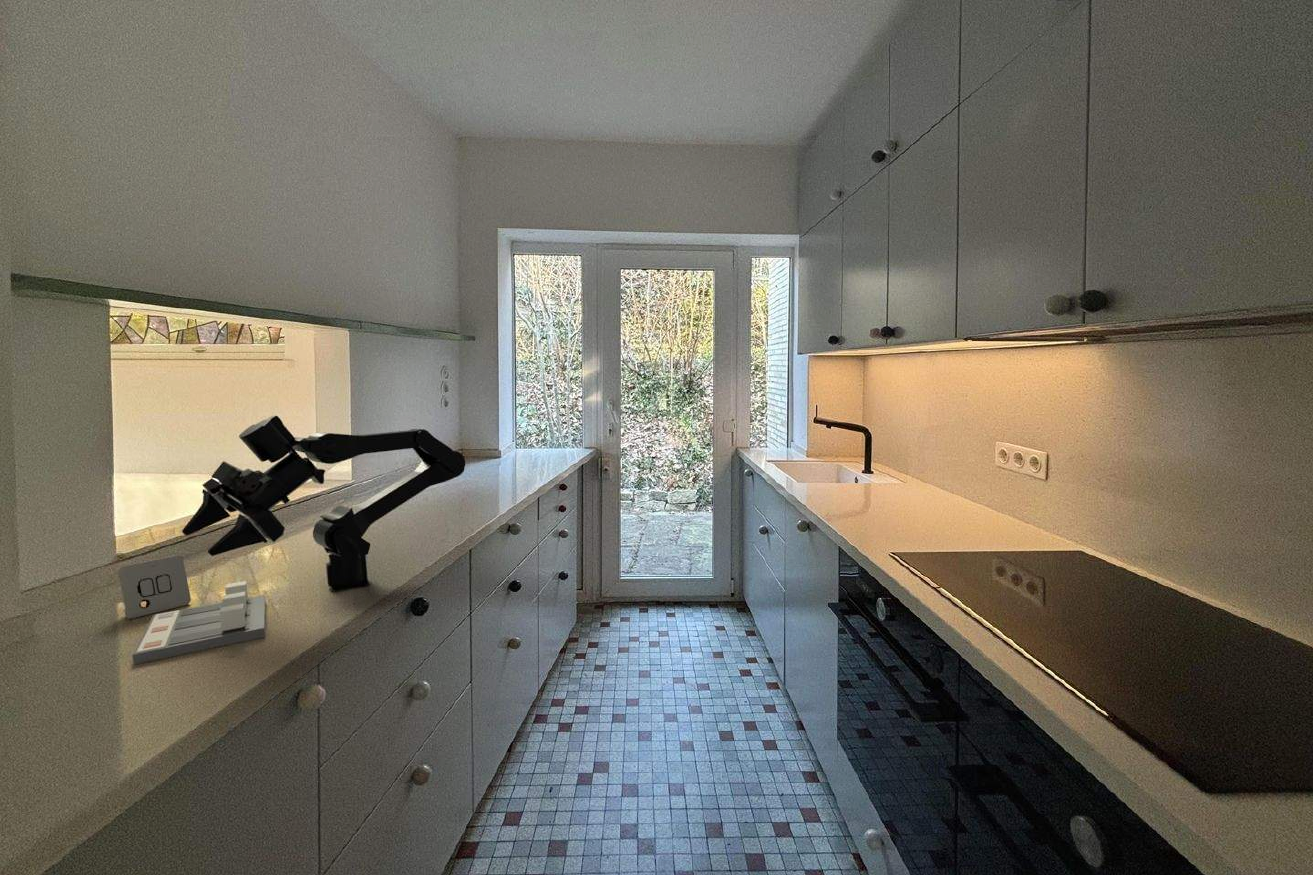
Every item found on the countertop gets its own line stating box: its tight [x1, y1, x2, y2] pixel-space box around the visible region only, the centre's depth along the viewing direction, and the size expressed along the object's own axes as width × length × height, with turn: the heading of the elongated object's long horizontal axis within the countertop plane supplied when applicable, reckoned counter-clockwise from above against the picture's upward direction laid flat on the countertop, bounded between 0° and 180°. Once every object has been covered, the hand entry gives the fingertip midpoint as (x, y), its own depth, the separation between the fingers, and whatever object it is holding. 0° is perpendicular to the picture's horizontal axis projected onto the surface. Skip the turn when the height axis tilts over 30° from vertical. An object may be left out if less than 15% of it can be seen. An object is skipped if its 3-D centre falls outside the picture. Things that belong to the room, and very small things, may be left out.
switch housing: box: [132, 594, 267, 665], centre depth 102 cm, size 16×19×2 cm
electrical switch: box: [116, 554, 192, 620], centre depth 113 cm, size 9×5×9 cm, turn 141°
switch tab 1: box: [224, 580, 249, 601], centre depth 110 cm, size 3×2×3 cm
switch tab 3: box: [220, 604, 245, 631], centre depth 98 cm, size 3×2×3 cm
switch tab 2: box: [222, 592, 247, 613], centre depth 104 cm, size 3×2×3 cm
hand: (196, 543), depth 104 cm, fingers open, 9 cm apart
